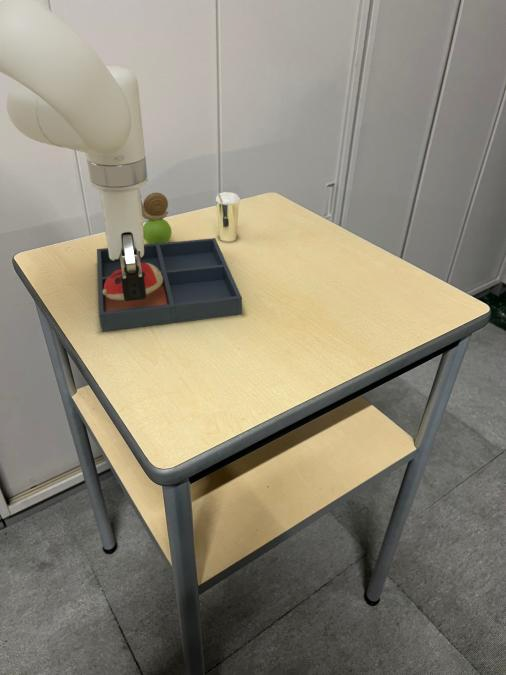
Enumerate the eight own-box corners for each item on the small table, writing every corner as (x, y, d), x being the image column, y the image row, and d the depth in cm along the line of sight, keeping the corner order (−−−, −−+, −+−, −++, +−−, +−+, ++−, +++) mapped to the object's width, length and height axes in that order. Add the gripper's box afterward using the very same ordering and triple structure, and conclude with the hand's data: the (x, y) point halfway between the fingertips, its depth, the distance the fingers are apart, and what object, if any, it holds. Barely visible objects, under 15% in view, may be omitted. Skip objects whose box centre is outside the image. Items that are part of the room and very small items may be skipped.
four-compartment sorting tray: (102, 332, 77) (98, 314, 75) (99, 264, 93) (96, 248, 91) (241, 314, 81) (241, 297, 79) (215, 252, 98) (215, 237, 96)
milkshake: (210, 241, 101) (208, 192, 95) (224, 231, 105) (223, 183, 99) (230, 246, 100) (229, 196, 94) (243, 236, 104) (244, 187, 98)
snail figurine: (135, 242, 100) (128, 182, 93) (167, 237, 103) (162, 177, 95) (143, 254, 96) (135, 192, 89) (176, 248, 99) (171, 187, 92)
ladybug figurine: (172, 287, 81) (170, 267, 79) (117, 310, 75) (114, 289, 73) (148, 271, 85) (146, 252, 82) (94, 292, 79) (90, 272, 77)
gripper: (88, 152, 75) (106, 261, 85) (89, 196, 61) (110, 319, 72) (141, 149, 77) (152, 257, 87) (152, 192, 63) (164, 313, 74)
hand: (133, 284), depth 79 cm, fingers closed on ladybug figurine, 7 cm apart
